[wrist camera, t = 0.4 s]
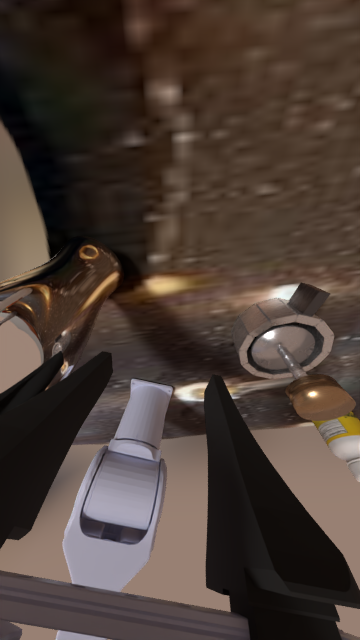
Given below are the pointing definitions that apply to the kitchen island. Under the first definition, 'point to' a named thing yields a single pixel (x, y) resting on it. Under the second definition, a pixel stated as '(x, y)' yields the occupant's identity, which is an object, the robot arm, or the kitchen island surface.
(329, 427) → the supplement bottle
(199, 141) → the kitchen island surface
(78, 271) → the beer glass
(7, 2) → the kitchen island surface
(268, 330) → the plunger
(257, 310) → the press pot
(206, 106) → the kitchen island surface
